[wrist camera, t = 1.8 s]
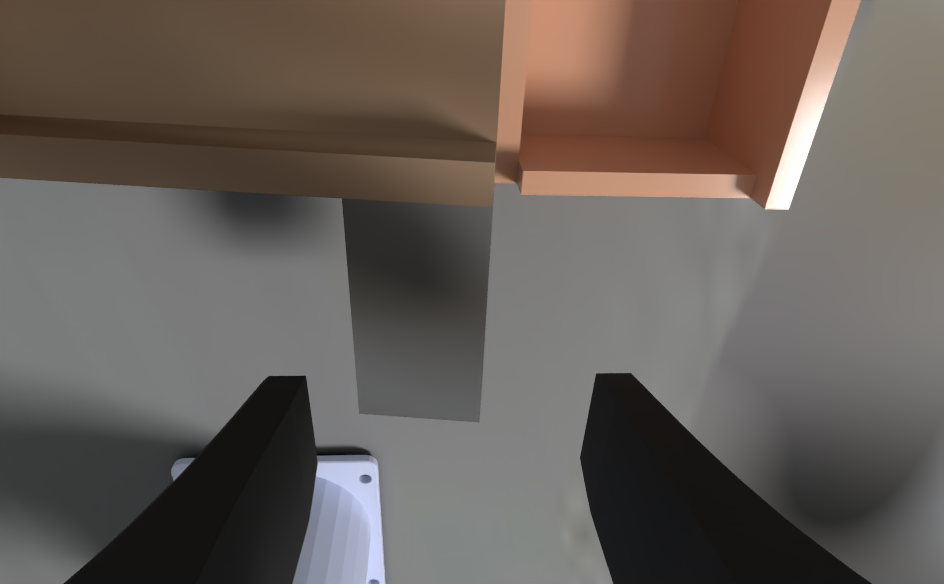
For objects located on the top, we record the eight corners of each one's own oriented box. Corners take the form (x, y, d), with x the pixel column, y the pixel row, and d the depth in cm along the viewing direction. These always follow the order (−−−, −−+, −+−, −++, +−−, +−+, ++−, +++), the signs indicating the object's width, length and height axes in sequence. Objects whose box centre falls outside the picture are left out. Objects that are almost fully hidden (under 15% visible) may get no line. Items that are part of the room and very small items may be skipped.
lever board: (481, 395, 15) (475, 465, 13) (-34, 358, 16) (-118, 420, 13) (522, -281, 8) (526, -356, 6) (-380, -311, 9) (-648, -390, 7)
